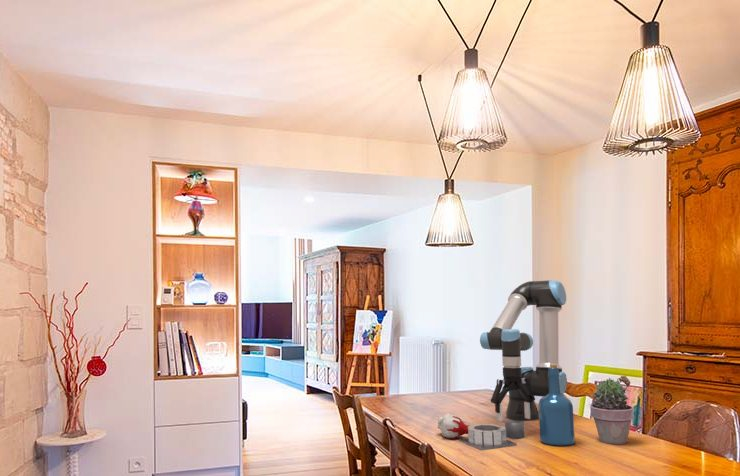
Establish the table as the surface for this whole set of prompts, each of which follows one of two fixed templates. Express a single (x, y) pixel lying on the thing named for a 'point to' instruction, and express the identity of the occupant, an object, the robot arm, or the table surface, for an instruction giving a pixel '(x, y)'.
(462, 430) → the candle
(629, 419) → the potted plant
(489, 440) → the square flange collar
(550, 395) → the wine bottle
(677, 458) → the table surface
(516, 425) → the cap
